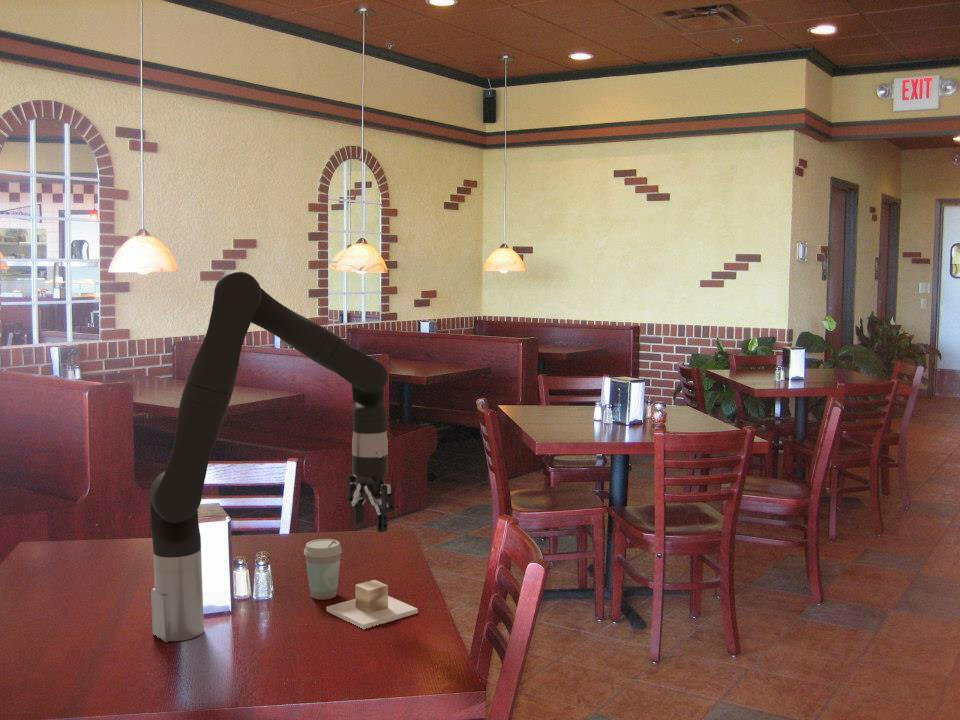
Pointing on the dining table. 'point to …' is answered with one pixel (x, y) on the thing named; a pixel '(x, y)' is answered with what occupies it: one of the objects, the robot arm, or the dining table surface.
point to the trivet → (368, 620)
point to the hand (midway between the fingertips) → (370, 527)
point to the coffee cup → (323, 567)
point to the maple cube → (371, 596)
